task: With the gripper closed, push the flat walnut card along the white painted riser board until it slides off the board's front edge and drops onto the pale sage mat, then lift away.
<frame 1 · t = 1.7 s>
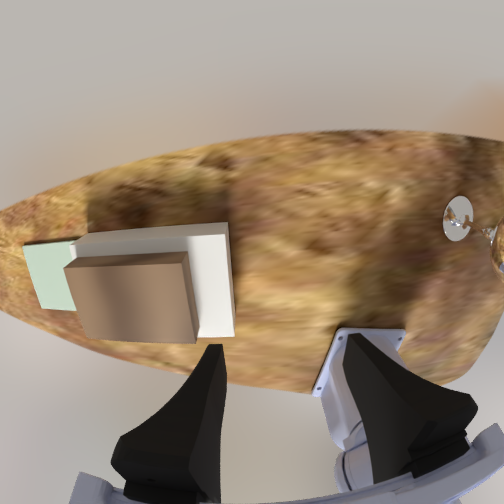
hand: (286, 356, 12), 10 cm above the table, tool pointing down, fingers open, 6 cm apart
wineglass: (457, 218, 20), on the table
mat: (61, 277, 22), on the table
deck: (158, 275, 22), on the table
card: (135, 292, 19), point 3 cm above the table, touching deck
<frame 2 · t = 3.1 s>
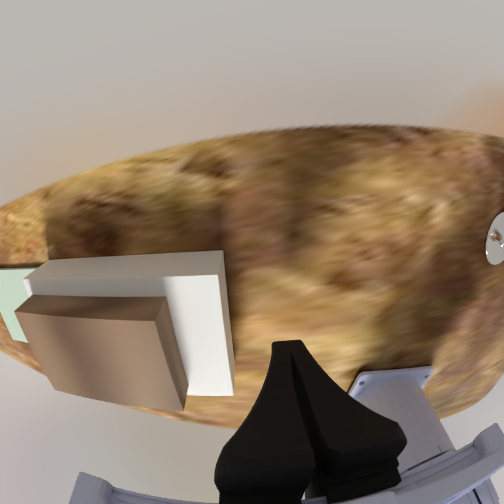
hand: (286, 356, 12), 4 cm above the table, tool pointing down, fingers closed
wineglass: (499, 237, 15), on the table
mat: (27, 308, 16), on the table
deck: (135, 314, 16), on the table
card: (104, 342, 13), point 3 cm above the table, touching deck
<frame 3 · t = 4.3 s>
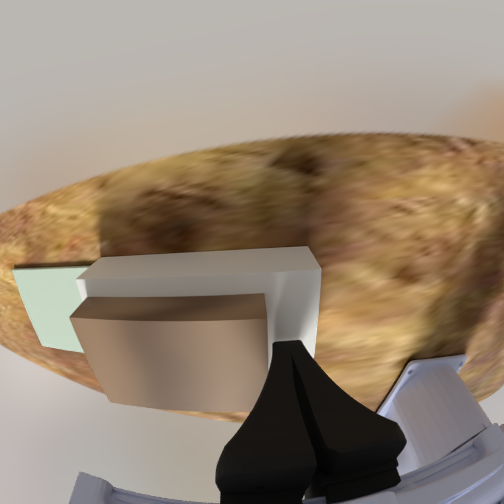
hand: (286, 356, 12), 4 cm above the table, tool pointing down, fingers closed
mat: (66, 311, 16), on the table
deck: (204, 314, 16), on the table
card: (177, 346, 13), point 3 cm above the table, touching deck, gripper
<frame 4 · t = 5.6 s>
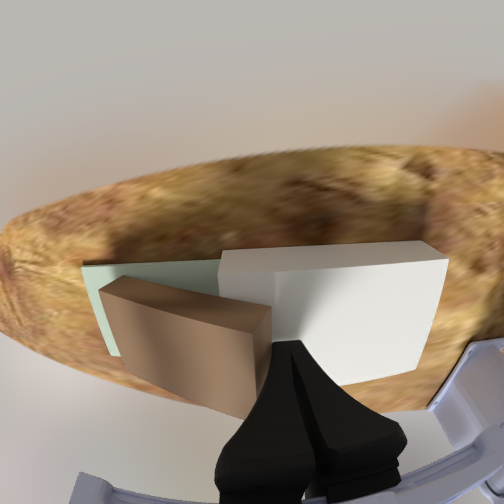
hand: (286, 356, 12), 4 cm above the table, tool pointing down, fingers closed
mat: (156, 314, 16), on the table
deck: (328, 307, 16), on the table
card: (192, 337, 14), point 2 cm above the table, tilted 24°
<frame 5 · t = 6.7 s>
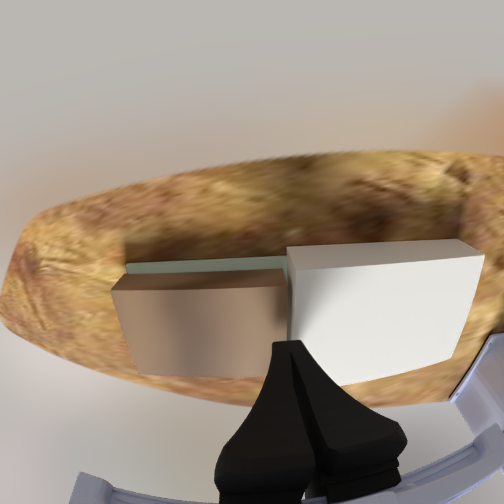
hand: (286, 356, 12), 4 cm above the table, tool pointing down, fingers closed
mat: (209, 314, 16), on the table
deck: (378, 301, 16), on the table
card: (205, 318, 16), resting on mat
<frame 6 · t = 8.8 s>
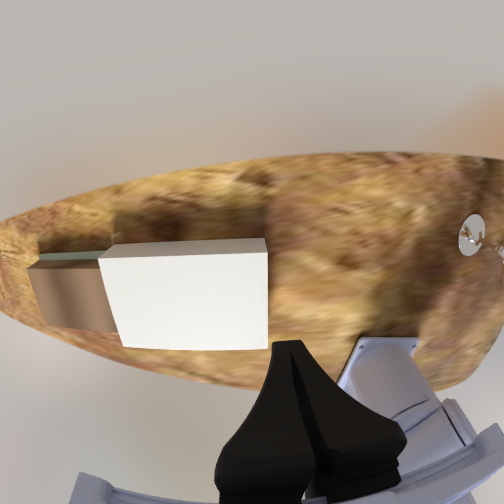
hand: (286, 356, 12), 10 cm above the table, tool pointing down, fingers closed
wineglass: (470, 234, 21), on the table
mat: (82, 287, 22), on the table
deck: (190, 288, 22), on the table
card: (79, 289, 21), resting on mat
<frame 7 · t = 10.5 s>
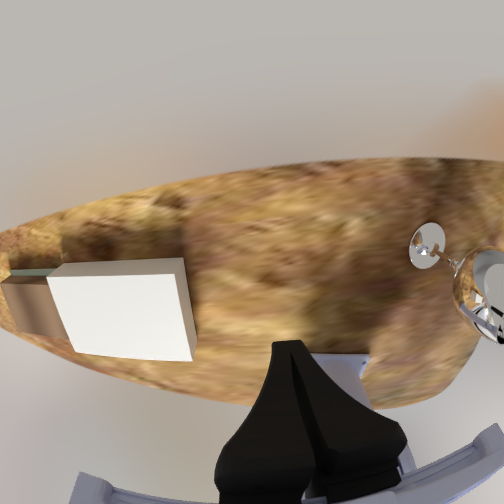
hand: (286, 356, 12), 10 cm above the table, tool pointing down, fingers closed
wineglass: (426, 245, 21), on the table
mat: (45, 299, 22), on the table
deck: (126, 302, 22), on the table
card: (42, 301, 22), resting on mat
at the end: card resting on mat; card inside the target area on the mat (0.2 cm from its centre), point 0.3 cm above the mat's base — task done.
